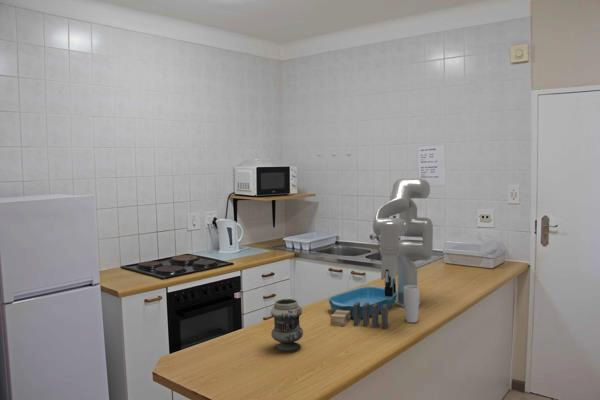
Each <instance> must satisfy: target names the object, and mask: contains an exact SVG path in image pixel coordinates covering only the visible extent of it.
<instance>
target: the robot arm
mask: <svg viewBox="0 0 600 400" xmlns="http://www.w3.org/2000/svg"><path fill="white" fill-rule="evenodd" d="M430 191H431V185H430V183H429V182H428V181H427V180H425V179H422V178H399V179H397V180H396V181H395V182H394V183H393V184H392V190H391V194H390V198H389V201H386V202H385V203H384V204H383V205H381V206H380V207H379V208H378V209H377V210H376V212H375V216H374V219H373V223H372V231H373V232H374V234H375V235H377V236H380V239H379V241H380V243H379V244H380V247H379V248H380V256H381V267H380V268H381V269H380V278H381V280H384V288H385V296H387V297H392V296H393V287H392V280H393V286H394V293H396V292H397V297H396V300H395V303H394V305H395V306H398V307H401V308H405V305H404V286H407V285H414V286H418V267H417V265H416V264H415V262H414V261H430V260H431V259H432V257H433V249H434V248H433V247H434V246H433V244H434V243H433V241H434V239H433V238H434V229H433V227H434V225H433V222H432V219H430V218H429V217H418V207H417V204H416V202H414V200H413V199H427V198H429V196H430V194H431V193H430ZM398 214H399V215H398ZM395 215H398V217H399V218H397V217H395V218H393V217H392V216H395ZM400 237H405V238H421V239H422V240H421V239H400ZM396 277H397V281H396ZM389 278H391V279H389ZM389 281H390V282H389ZM396 282H397V283H396ZM421 305H422V302H421V300H419V307H420V306H421Z"/></svg>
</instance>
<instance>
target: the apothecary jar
mask: <svg viewBox="0 0 600 400" xmlns="http://www.w3.org/2000/svg"><path fill="white" fill-rule="evenodd" d="M270 314H271V316H272V317H273V318H274V319H273V320H274V322H273V323H274V324H273V325H274V326H273V327H274V328H273V329H272V331H271V332H270V333H271V335H270V336H271V338H272V339H273V340H275V341H276V342H279V343H277V344H275V346H274V350H275V351H276V352H279V353H282V354H283V353H284V354H285V353H286V354H287V353H288V354H290V353H294V352H298V351H299V350H301V348H302V347H301V344H300V343H298V342H297V341H299V340H300V339H301V338H303V336H304V330H303V328H302V327H301V326H300V316H301V315H302V314H303V308H302V307H301V306H300V305H299V303H298V300H297V299H294V298H280V299H277V300H275V301H274V306H273V307H272V308H271V309H270Z"/></svg>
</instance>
